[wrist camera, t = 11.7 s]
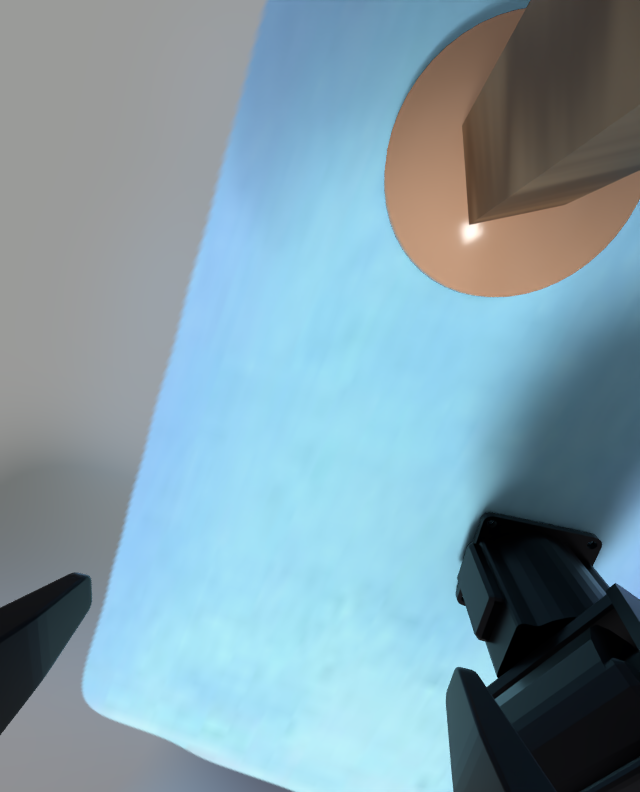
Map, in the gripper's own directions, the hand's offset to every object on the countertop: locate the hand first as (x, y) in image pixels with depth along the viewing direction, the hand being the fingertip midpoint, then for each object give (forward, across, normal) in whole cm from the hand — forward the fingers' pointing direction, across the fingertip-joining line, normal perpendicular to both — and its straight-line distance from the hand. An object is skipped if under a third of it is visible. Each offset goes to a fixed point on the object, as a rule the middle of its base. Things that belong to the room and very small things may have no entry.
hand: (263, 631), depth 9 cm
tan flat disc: (+13, -6, -14) cm, 20 cm away
